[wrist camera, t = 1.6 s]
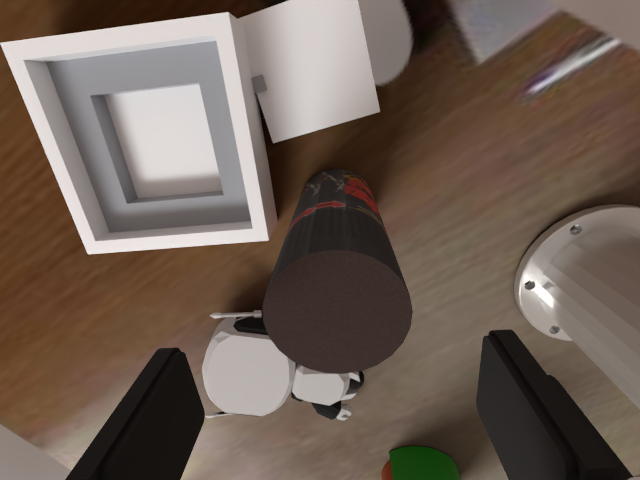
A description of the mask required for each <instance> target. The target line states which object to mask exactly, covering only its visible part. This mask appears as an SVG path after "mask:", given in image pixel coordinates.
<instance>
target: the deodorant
mask: <svg viewBox="0 0 640 480" xmlns="http://www.w3.org/2000/svg"><path fill="white" fill-rule="evenodd" d="M262 308H263V323H264V325H265V328H266V330H267V333H268V335H269V338H270V339H271V340H272V342H273V343H274V344H275V346H276V347H277V348H278V350H279V351H280V352H282V353H283V354H284V355H285V356H287V357H288V358H289V359H290V360H292V361H293V362H295V363H297V364H299V365H301V366H303V367H306V368H308V369H311V370H315V371H319V372H323V373H336V374H345V373H352V372H358V371H362V370H365V369H368V368H370V367H373V366H375V365H378V364H379V363H381V362H382V361H384V360H385V359H387V358H388V357H390V356H391V355H392V354H393V353H394V352H395V351H396V350H397V349H398V348H399V347H400V345H401V344H402V343H403V342H404V340H405V337H406V335H407V333H408V331H409V329H410V326H411V319H412V312H413V311H412V305H411V300H410V295H409V292H408V289H407V287H406V284H405V281H404V278H403V276H402V273H401V270H400V268H399V265H398V262H397V260H396V257H395V254H394V251H393V249H392V246H391V243H390V241H389V238H388V235H387V233H386V230H385V227H384V224H383V222H382V219H381V216H380V214H379V211H378V208H377V206H376V203H375V200H374V197H373V195H372V192H371V190H370V188H369V186H368V184H367V183H366V182H365V181H364V180H363V179H362V178H361V176H359V175H357V174H356V173H354V172H352V171H349V170H346V169H329V170H325V171H322V172H320V173H318V174H316V175H315V176H314V177H313V178H311V179H310V180H309V181H308V182H307V184H306V186H305V187H304V189H303V191H302V194H301V196H300V199H299V202H298V205H297V207H296V210H295V213H294V216H293V219H292V221H291V224H290V227H289V230H288V232H287V235H286V238H285V241H284V243H283V246H282V249H281V252H280V254H279V257H278V260H277V263H276V265H275V268H274V271H273V274H272V276H271V279H270V282H269V285H268V287H267V290H266V294H265V298H264V302H263V306H262Z"/></svg>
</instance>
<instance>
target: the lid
mask: <svg viewBox="0 0 640 480" xmlns="http://www.w3.org/2000/svg"><path fill="white" fill-rule="evenodd" d="M238 20H239V21H240V22H242V23H243V26H244V32H245V38H246V44H247V50H248V56H249V62H250V68H251V75H252V78H251V79H252V85H253V91H254V94H257V96H258V99H259V102H260V105H261V108H262V111H263V114H264V117H265V120H266V123H267V127H268V130H269V133H270V136H271V139H272V142H273V143H276V142H279V141H283V140H286V139H290V138H293V137H296V136H300V135H303V134H307V133H310V132H313V131H317V130H320V129H324V128H327V127H330V126H334V125H337V124H341V123H344V122H347V121H351V120H354V119H358V118H361V117H364V116H368V115H371V114H375V113H378V112H380V108H379V103H378V98H377V93H376V88H375V83H374V78H373V73H372V69H371V63H370V58H369V53H368V48H367V43H366V38H365V33H364V28H363V23H362V18H361V13H360V8H359V3H358V0H288V1H286V2H283V3H280V4H277V5H275V6H272V7H269V8H266V9H263V10H261V11H258V12H255V13H252V14H249V15H247V16H244V17H241V18H238Z"/></svg>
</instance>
